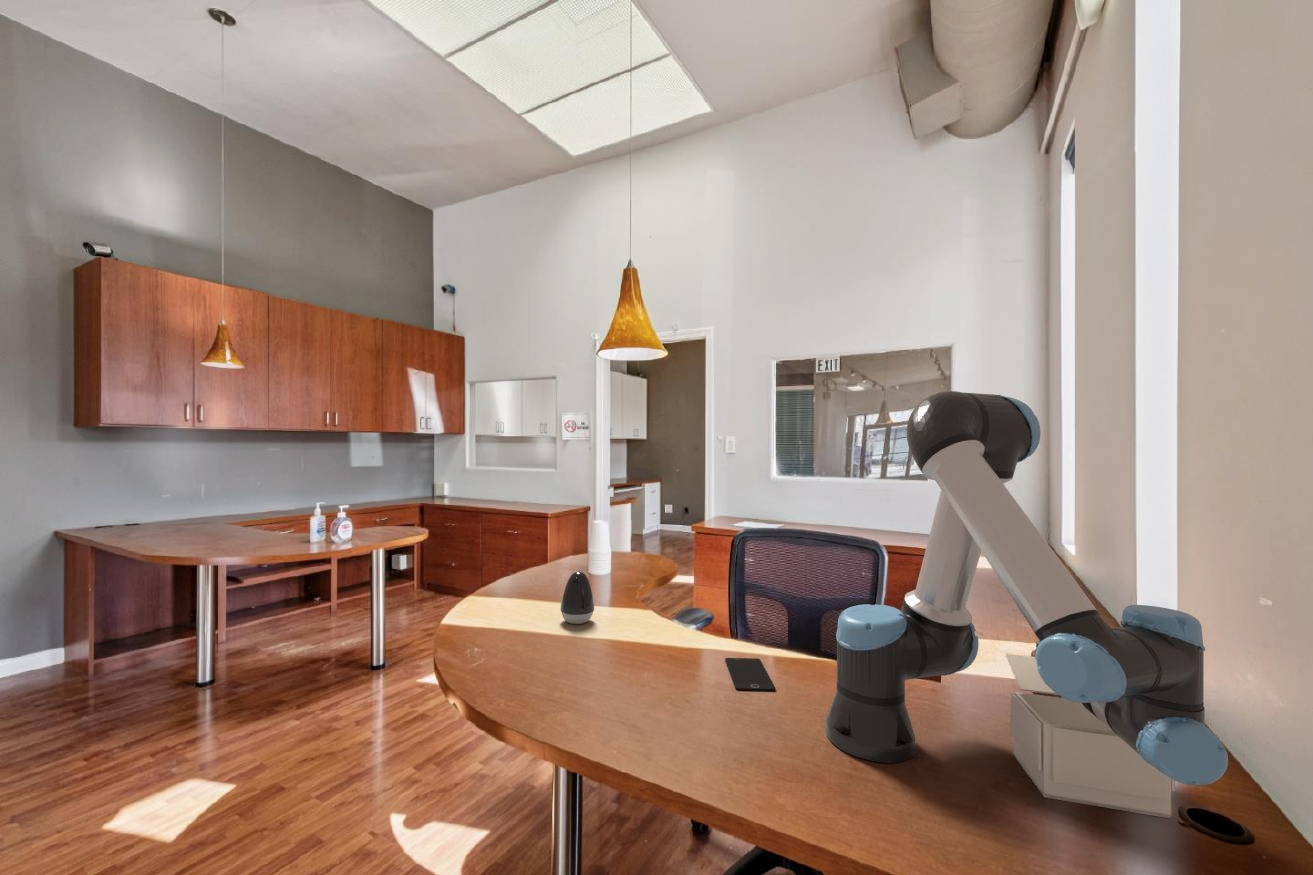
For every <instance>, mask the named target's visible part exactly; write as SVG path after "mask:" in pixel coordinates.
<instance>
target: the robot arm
mask: <svg viewBox="0 0 1313 875" xmlns="http://www.w3.org/2000/svg"><path fill="white" fill-rule="evenodd" d="M906 424H907V425H906V440H907V446H908V448H909V451H910V454H911V457H912V459H913V460H914V461H915V464H916V465H917V467H918V469H919V471H920V472H921V473H922V475H923V476H924V478H926V479H928V480H931V481H935V482H936V484H937V485H938V487H939V489H940V493H939V497H938V501H937V505H936V508H935V512H934V517H933V520H932V525H931V528H930V531H929V536H928V540H927V543H926V548H925V552H924V556H923V559H922V564H921V566H920V567H921V568H920V571H919V575H918V579H917V583H916V586H915V589H913V590H911V591H909V592H906V593H905V595H904V599H903V601H902V606H901V609H898V608H897V607H894V606H890V605H886V604H877V603H875V604H868V603H867V604H857V605H854V606H850V607H848V608H846V609H844V610H843V611H842V612H841V613H840V614H839V617H838V620H837V630H836V634H835V637H836V690H835V694H834V697H833V699H832V702H831V704H830V708H829V711H828V714H827V716H826V720H825V726H826V727H825V734H826V737H827V739H828V740H829V741H830V742H831V743H832V744H833V745H834V746H835V747H836V748H838V749H840V750H841V751H843V752H845V753H846V754H849V755H851V756H854V757H856V758H860V759H862V760H867V761H871V762H877V763H887V764H888V763H890V764H891V763H900V762H901V763H902V762H905V761H908V760H910V759H911V758H912V757H914V755H915V754H916V734H915V732H914V728H913V724H912V722H911V719H910V716H909V713H908V709H907V707H906V700H905V698H906V695H905V694H906V681H907V680H914V679H922V678H928V677H929V678H930V677H937V676H949V675H954V674H955V673H959V672H962V671H964V670H966V669H967V668H968V669H969V667H970V666H971V665H972V664H973V663H974V661H975V660H976V657H977V655H978V652H979V637H978V636H977V635H976V634H975V632H977V630H976V627H975V625H974V623H973V622H972V621H973V615H972V613H971V612H970V611H969V609H968V608H967V602H968V599H969V596H970V592H971V589H972V586H973V581H974V578H975V574H976V572H977V571H976V570H977V567H978V563H979V561H980V558H981V553H982V554H983V556H984V557H985V559H986V560H987V562H988V564H989V565H990V567H991V568H992V570H993V572H994V573H995V574H996V577H998V579H999V580H1000V582H1001V583H1002V585H1003V586H1004V588H1005V590H1006V591H1007V593H1008V594H1009V596H1010V598H1011V599H1012V600H1013V602H1014V603H1015V605H1016V606H1017V608H1018V610H1019V611H1020V613H1021V615H1023V617H1024V619H1025V620H1026V622H1027V623H1028V625H1029V626H1030V628H1031V630H1032V631H1033V632H1034V634H1035V636H1036V637H1037V638H1038V641H1040V644H1039V645H1038V647H1037V649H1036V648H1035V649H1036V653H1035V659H1036V661H1037V666H1038V668H1037V670H1038V672H1039V674H1040V676H1041V678H1042V679H1043V681H1044V682H1045V684H1046V685H1047V686H1048V687H1049V688H1050V689H1052V690H1053V691H1054V692H1055V693H1057V694H1058V695H1060V696H1061V697H1062V698H1065V699H1067V700H1070V701H1073V702H1078V703H1082V704H1083V706H1084V707H1085V708H1086V709H1087V710H1089V711H1090V712H1091V713H1092V714H1093V715H1094V716H1095V717H1097V718H1098V719H1099V720H1101V721H1102V722H1103V723H1104V724H1105V725H1106V726H1108V727H1109V728H1110V729H1111V730H1112V731H1114V732H1115V733H1116V734H1117V735H1118V736H1119V737H1120V738H1121V739H1122V740H1124V741H1125V742H1126V743H1127V744H1128V745H1129V746H1130V747H1131V748H1132V749H1134V750H1135V751H1136V752H1137V753H1138V754H1139V755H1140V756H1141V757H1142V758H1143V759H1144V760H1145V761H1146V762H1147V763H1149V764H1150V765H1152V766H1154V767H1155V768H1156V769H1157V770H1159V771H1160V772H1161V773H1163V774H1165V775H1166V776H1168V777H1169V778H1171V779H1173V780H1175V782H1177V783H1179V784H1185V785H1187V786H1198V787H1199V786H1206V785H1210V784H1212V783H1215V782H1217V781H1218V780H1219V779H1221V778H1222V777H1223V776H1224V774H1225V773H1226V771H1227V768H1228V765H1229V757H1228V751H1227V750H1226V747H1225V745H1224V744H1223V742H1222V741H1221V739H1220V738H1219V737H1218V736H1217V735H1216V734H1215V733H1214V732H1213V730H1212V729H1211V728H1209V727H1208V726H1207V725H1206V724H1205V723H1206V721H1205V720H1206V719H1205V717H1206V716H1205V715H1206V714H1205V712H1206V710H1205V706H1204V704H1205V703H1204V690H1205V688H1204V677H1205V676H1204V675H1205V674H1204V672H1205V670H1204V668H1205V664H1204V661H1205V660H1204V659H1205V658H1204V655H1205V654H1204V652H1205V651H1206V647H1205V646H1204V640H1203V627H1202V624H1201V622H1200V621H1199V620H1198V618H1197V617H1195V616H1193V615H1192V614H1190V613H1187V612H1183V611H1180V610H1176V609H1172V608H1168V607H1167V608H1166V607H1160V606H1156V605H1155V606H1154V605H1146V604H1145V605H1144V604H1132V605H1126V607H1124V608H1123V610H1122V612H1121V613H1122V615H1121V620H1120V625H1121V627H1113V628H1112V627H1111V626H1110V625H1109V623H1107V621H1106V620H1105V618H1104V617H1103V616H1102V615H1101V614H1100V612H1099V611H1098V610H1097V609H1096V606H1094V605H1093V603H1092V602H1091V600H1090V599H1089V598H1088V596H1087V595H1086V593H1085V592H1084V591H1083V589H1082V588H1081V587H1080V585H1079V584H1078V583H1077V581H1076V580H1075V578H1074V577H1073V576H1072V574H1071V573H1070V572H1069V570H1068V569H1067V568H1066V566H1065V565H1064V564H1063V562H1062V561H1061V559H1059V557H1058V556H1057V554H1056V553H1055V552H1054V550H1053V549H1052V548H1051V546H1050V545H1049V543H1048V542H1047V541H1046V539H1044V537H1043V535H1042V534H1041V533H1040V531H1039V530H1038V529H1037V527H1036V526H1035V524H1034V523H1033V522H1032V521H1031V519H1030V517H1028V515H1027V514H1026V512H1025V511H1024V510H1023V509H1022V507H1021V506H1020V504H1019V503H1018V502H1017V500H1016V499H1015V498H1014V496H1013V495H1012V493H1010V491H1009V489H1008V488H1007V487H1006V486H1005V484H1006V483H1008V482H1010V481H1012V480H1013V478H1014V475H1015V471H1016V468H1017V465H1018V463H1020V462H1023V461H1025V460H1026V459H1027V458H1029V457H1031V456H1032V455H1033V454H1034V453H1035V452H1036V450H1037V448H1038V446H1039V444H1040V440H1041V432H1042V431H1041V424H1040V422H1039V420H1038V416H1036V415H1035V413H1034V411H1033V410H1032V408H1031V407H1030V406H1028V404H1026V403H1025V402H1023V401H1022V400H1020V399H1017V398H1014V397H1010V396H1004V395H1001V394H992V393H976V392H975V393H974V392H961V391H957V390H955V391H954V390H947V391H945V390H944V391H940V392H936V393H933V394H931V395H929V396H927V397H925V398H924V399H922V400H921V401H920V402H919V403H917V404H916V405H915V407H914V408H913V410H912V411H911V413H910V416H909V417H908V420H907V423H906Z"/></svg>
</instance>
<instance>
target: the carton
mask: <svg viewBox="0 0 1313 875" xmlns="http://www.w3.org/2000/svg"><path fill="white" fill-rule="evenodd" d="M1010 735H1011V736H1012V737H1013V757H1014V758H1015V759H1016V760H1017V762H1018V764H1020V766H1021V768H1022V769H1023V770H1024V771H1025V773H1026V774H1027V775H1028V777H1029V779H1030V780H1031V779H1032V780H1031V781H1032V783H1034V786H1035V787H1036V786H1037V787H1036V788H1037V789H1038V791H1039V792H1040V794H1041V795H1042V797H1044V798H1047V799H1054V800H1060V801H1065V802H1070V803H1076V804H1083V805H1088V806H1095V807H1101V808H1105V809H1111V810H1112V809H1114V810H1118V811H1124V812H1130V813H1136V814H1143V815H1148V816H1154V817H1159V818H1165V819H1172V791H1176V781H1175V780H1173V779H1171V778H1169V777H1168V776H1166V775H1165V774H1163V773H1161V772H1160V771H1159V770H1157V769H1156V768H1155V767H1154V766H1152V765H1150V764H1149V763H1147V762H1146V761H1145V760H1144V759H1143V758H1142V757H1141V756H1140V755H1139V754H1138V753H1137V752H1136V751H1135V750H1134V749H1132V748H1131V747H1130V746H1129V745H1128V744H1127V743H1126V742H1125V741H1124V740H1122V739H1121V738H1120V737H1119V736H1118V735H1117V734H1116V733H1115V732H1114V731H1112V730H1111V729H1110V728H1109V727H1108V726H1106V725H1105V724H1104V723H1103V722H1102V721H1101V720H1099V719H1098V718H1097V717H1095V716H1094V715H1093V714H1092V713H1091V712H1090V711H1089V710H1087V709H1086V708H1085V707H1084V706H1083V704H1082V703H1078V702H1073V701H1070V700H1067V699H1065V698H1063V697H1062V698H1059V697H1051V696H1043V695H1036V694H1035V693H1033V694H1032V693H1027V692H1026V693H1025V692H1017V691H1014V692H1010Z"/></svg>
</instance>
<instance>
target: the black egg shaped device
mask: <svg viewBox="0 0 1313 875" xmlns="http://www.w3.org/2000/svg"><path fill="white" fill-rule="evenodd" d="M560 612H561V616H562V618H563V619H564V621H565V622H567V623H569V624H571V625H582V624H583V625H584V624H585V623H587V622H588V621H590V619H591V618H592V617H593V614H594V612H595V600H594V594H593V590H592V585H591V582H590V579H589V578H588V576H587V574H586V573H585V572H583V571H579V570H577V571H575V572H573V573H572V574H570V576H569V578H568V580H567V582H566V584H565V587H564V590H563V594H562V597H561V603H560Z"/></svg>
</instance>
